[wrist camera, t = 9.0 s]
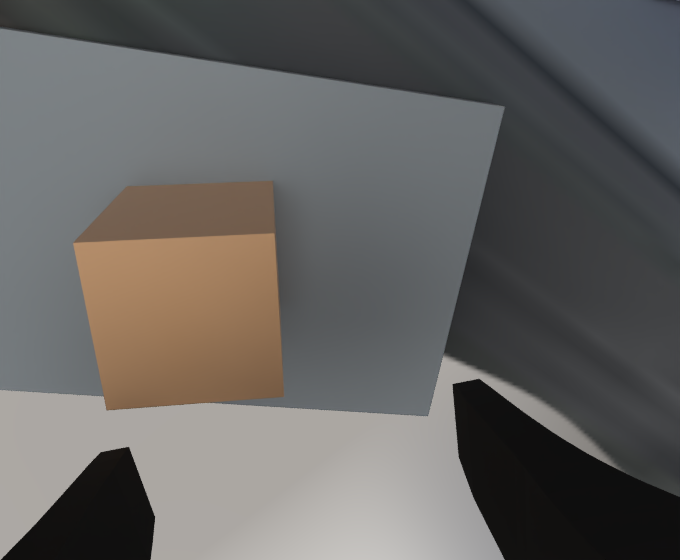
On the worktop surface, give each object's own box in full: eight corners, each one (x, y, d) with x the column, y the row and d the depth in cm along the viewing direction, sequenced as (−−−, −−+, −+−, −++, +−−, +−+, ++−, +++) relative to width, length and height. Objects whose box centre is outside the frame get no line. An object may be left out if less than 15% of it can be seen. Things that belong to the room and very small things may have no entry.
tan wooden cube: (272, 180, 19) (274, 233, 14) (280, 309, 21) (284, 396, 16) (126, 186, 18) (73, 242, 13) (147, 316, 20) (106, 410, 15)
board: (493, 103, 20) (545, 118, 16) (422, 401, 24) (449, 467, 20) (-93, 12, 17) (-194, 5, 13) (-53, 370, 21) (-120, 440, 17)
